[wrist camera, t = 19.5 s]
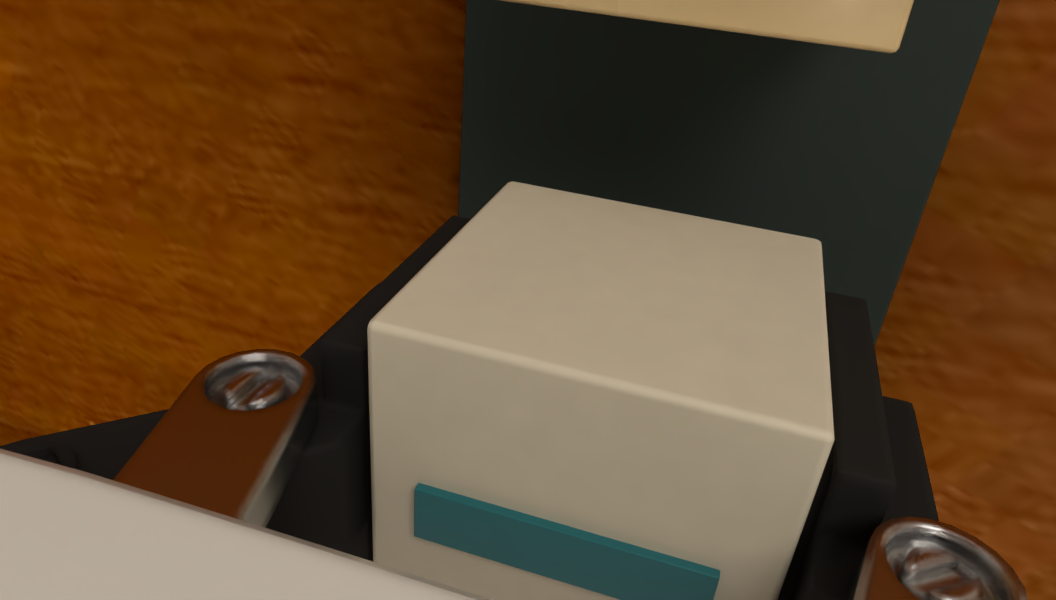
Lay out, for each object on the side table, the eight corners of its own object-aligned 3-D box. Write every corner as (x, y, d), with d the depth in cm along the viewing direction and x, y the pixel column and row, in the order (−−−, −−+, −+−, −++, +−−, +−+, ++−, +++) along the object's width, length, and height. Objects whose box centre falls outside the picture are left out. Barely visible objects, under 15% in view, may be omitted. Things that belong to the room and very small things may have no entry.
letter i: (507, 177, 11) (357, 326, 7) (824, 237, 10) (839, 445, 6) (490, 418, 13) (367, 630, 9) (748, 486, 12) (726, 754, 8)
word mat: (498, -532, 10) (486, -550, 10) (1188, -551, 8) (1209, -573, 8) (460, 349, 17) (451, 361, 17) (834, 440, 15) (834, 456, 15)
